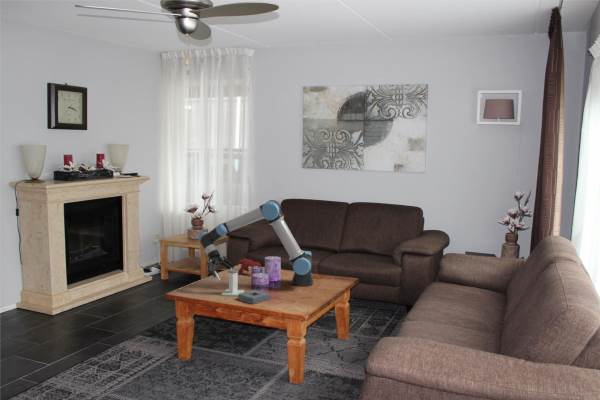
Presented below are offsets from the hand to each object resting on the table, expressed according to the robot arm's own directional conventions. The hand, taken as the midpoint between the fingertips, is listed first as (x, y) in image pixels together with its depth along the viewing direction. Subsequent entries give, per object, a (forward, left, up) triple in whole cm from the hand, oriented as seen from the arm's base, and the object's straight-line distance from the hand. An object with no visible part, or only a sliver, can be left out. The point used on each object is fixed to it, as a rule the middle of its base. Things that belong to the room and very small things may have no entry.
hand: (226, 279), depth 344 cm
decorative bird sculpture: (-1, -51, -9) cm, 52 cm away
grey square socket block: (-21, +13, -9) cm, 26 cm away
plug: (-5, +3, -8) cm, 10 cm away
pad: (-5, +3, -9) cm, 10 cm away
